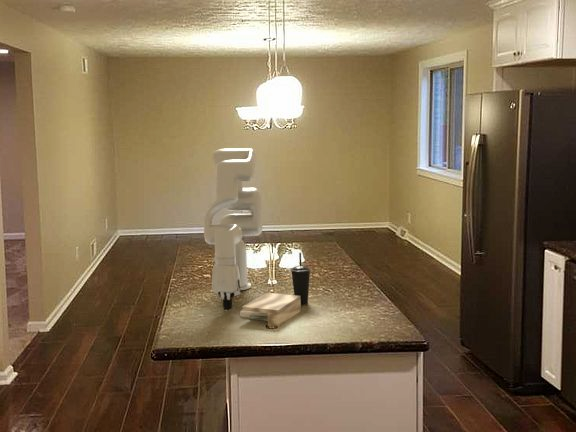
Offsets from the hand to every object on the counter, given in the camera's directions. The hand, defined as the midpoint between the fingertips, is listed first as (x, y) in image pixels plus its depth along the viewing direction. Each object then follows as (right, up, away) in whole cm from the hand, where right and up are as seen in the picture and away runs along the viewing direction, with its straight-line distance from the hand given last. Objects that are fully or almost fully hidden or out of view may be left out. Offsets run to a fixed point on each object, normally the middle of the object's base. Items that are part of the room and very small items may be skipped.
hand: (227, 309), depth 269 cm
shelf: (+17, -2, -7) cm, 19 cm away
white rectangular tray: (+13, -2, -6) cm, 14 cm away
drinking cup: (+28, +1, +9) cm, 29 cm away
